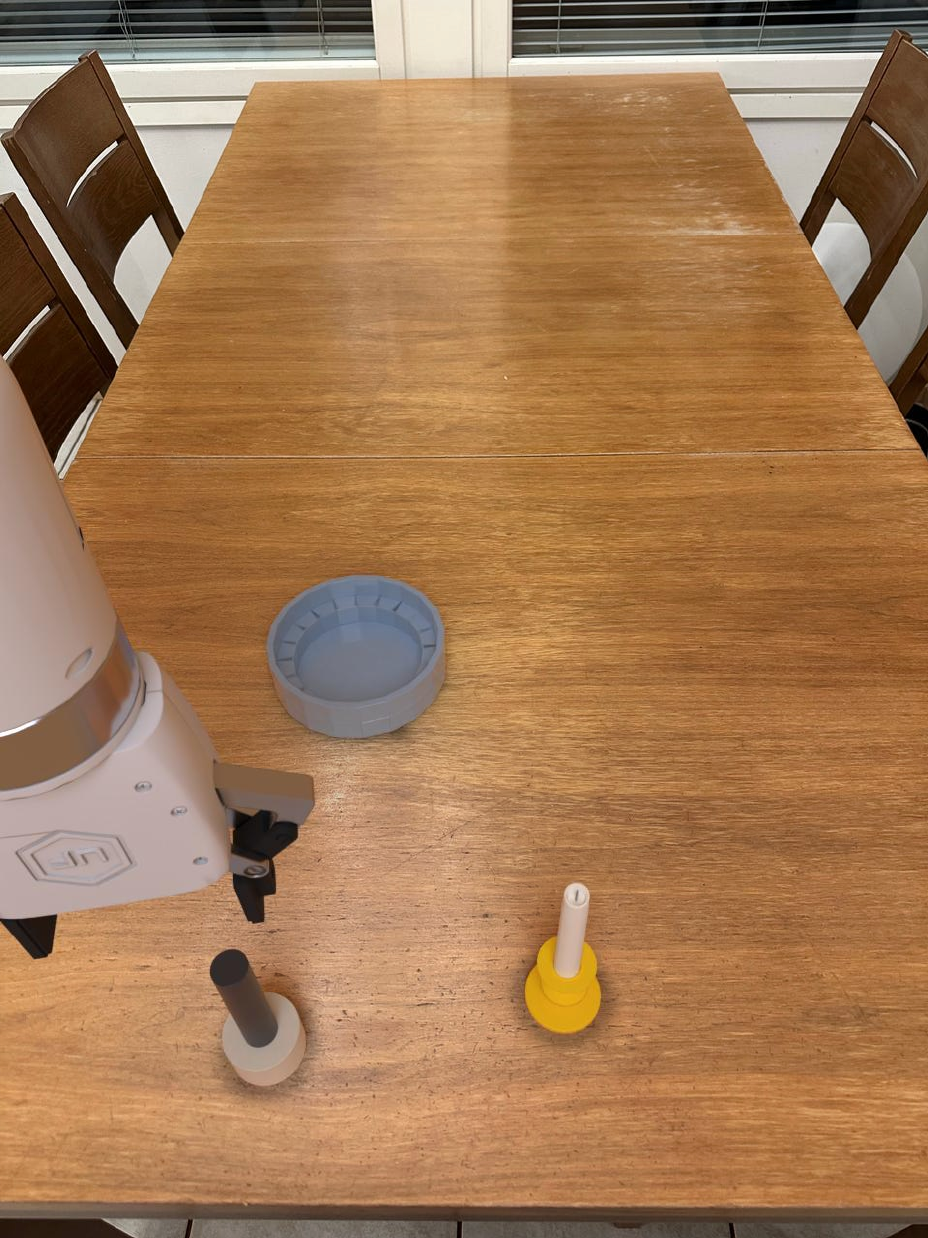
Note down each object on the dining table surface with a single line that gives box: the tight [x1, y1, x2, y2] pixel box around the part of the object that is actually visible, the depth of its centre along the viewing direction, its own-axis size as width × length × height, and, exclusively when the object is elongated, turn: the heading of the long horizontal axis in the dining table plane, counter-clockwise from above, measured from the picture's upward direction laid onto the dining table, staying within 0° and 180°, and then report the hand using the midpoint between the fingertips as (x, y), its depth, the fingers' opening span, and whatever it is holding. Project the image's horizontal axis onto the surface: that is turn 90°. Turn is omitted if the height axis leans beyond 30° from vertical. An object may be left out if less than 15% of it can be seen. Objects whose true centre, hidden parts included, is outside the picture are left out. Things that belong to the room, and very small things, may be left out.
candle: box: [524, 882, 602, 1035], centre depth 59 cm, size 5×5×16 cm
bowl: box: [265, 574, 447, 739], centre depth 83 cm, size 15×15×5 cm
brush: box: [209, 948, 307, 1087], centre depth 58 cm, size 5×5×13 cm
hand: (153, 911), depth 44 cm, fingers open, 9 cm apart
